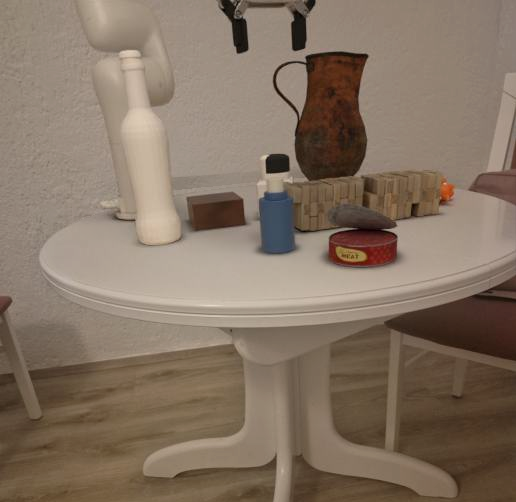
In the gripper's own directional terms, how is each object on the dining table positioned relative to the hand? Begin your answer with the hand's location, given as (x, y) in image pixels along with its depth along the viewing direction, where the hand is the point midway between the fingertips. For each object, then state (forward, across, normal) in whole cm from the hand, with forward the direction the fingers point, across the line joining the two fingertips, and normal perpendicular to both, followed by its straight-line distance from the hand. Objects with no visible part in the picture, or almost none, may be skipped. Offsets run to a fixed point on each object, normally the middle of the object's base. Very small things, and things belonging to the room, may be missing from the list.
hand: (271, 51), depth 74 cm
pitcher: (+28, -26, -28) cm, 47 cm away
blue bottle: (+28, +5, +8) cm, 30 cm away
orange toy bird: (+29, -39, -4) cm, 49 cm away
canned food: (+29, -3, +19) cm, 35 cm away
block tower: (+29, -17, 0) cm, 33 cm away
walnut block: (+28, +6, -18) cm, 34 cm away
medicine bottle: (+28, -7, -16) cm, 33 cm away
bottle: (+28, +19, -12) cm, 36 cm away
